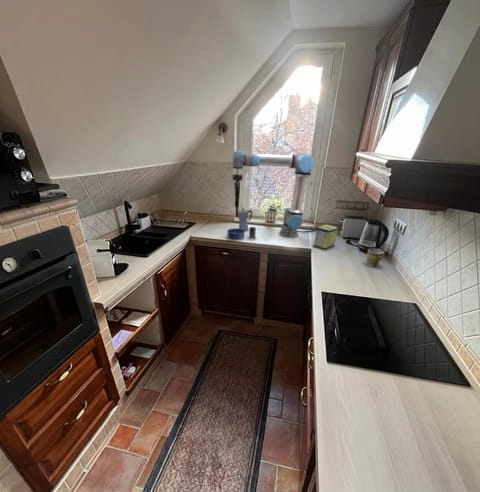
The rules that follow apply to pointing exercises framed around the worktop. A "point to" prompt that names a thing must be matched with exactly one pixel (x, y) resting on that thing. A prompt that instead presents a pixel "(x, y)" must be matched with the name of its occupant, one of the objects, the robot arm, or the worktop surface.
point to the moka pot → (243, 219)
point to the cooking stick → (236, 211)
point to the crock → (252, 232)
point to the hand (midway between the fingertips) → (236, 206)
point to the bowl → (235, 234)
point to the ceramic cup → (374, 257)
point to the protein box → (325, 236)
